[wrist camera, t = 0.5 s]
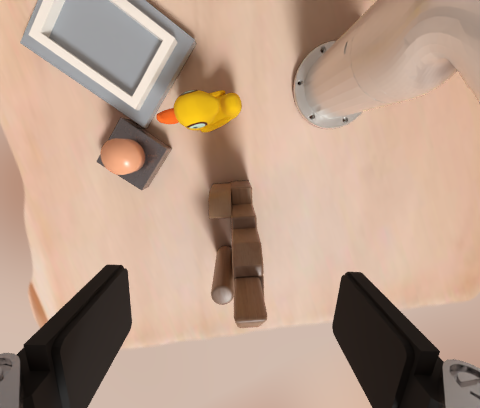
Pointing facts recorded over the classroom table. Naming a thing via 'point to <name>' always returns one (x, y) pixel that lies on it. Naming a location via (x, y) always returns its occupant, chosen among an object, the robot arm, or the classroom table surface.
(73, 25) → the tray
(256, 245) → the wooden toy
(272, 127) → the classroom table surface
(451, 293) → the classroom table surface
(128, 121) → the button base
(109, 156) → the button
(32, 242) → the classroom table surface
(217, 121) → the duckling
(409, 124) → the classroom table surface
